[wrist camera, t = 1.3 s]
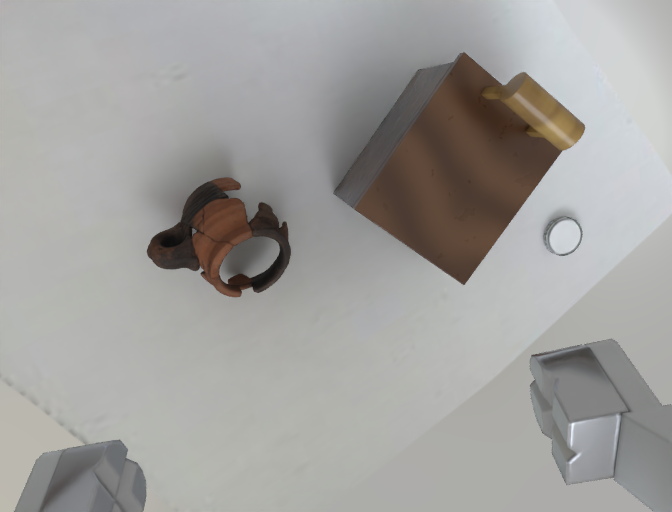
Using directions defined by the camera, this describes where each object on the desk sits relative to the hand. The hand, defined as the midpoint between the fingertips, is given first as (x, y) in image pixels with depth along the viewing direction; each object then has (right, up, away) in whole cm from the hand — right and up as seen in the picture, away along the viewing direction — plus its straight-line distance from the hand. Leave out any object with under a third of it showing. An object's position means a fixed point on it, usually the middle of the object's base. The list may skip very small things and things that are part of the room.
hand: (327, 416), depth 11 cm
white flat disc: (+24, +5, +48) cm, 54 cm away
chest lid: (+10, +10, +35) cm, 38 cm away
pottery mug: (-11, +5, +41) cm, 43 cm away
